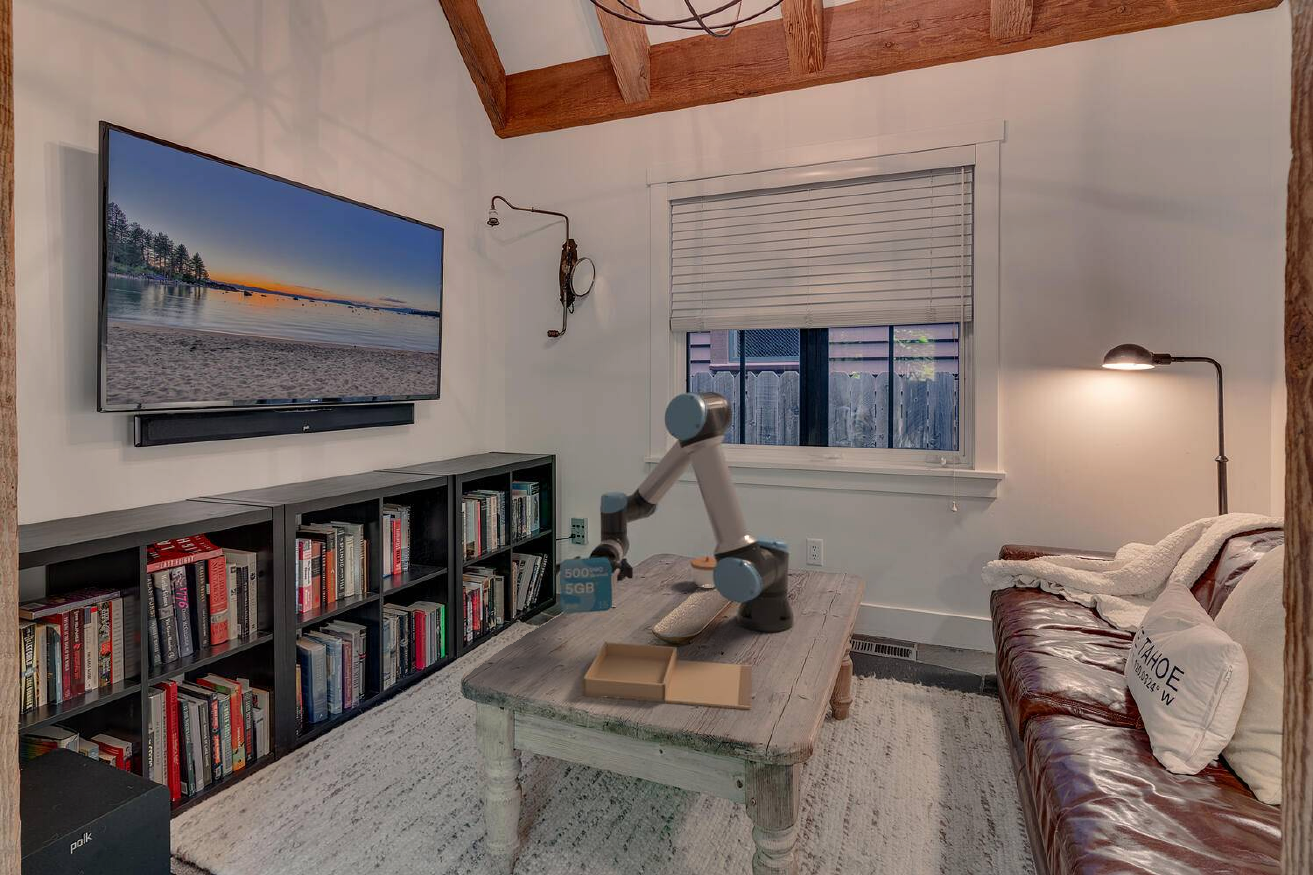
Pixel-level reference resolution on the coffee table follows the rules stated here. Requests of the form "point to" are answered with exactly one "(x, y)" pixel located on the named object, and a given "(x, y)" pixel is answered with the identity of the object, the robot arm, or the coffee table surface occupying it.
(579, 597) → the data package
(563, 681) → the coffee table surface
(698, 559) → the lidded jar
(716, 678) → the mailer box
